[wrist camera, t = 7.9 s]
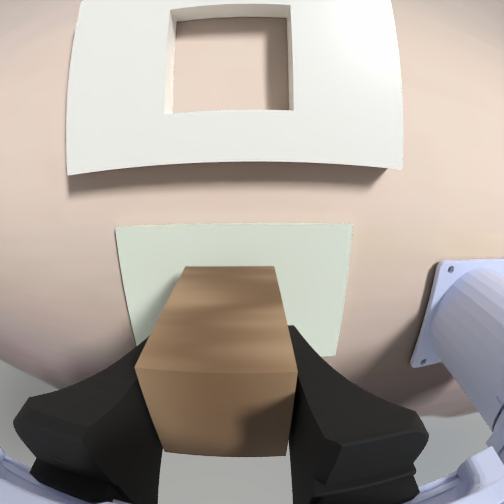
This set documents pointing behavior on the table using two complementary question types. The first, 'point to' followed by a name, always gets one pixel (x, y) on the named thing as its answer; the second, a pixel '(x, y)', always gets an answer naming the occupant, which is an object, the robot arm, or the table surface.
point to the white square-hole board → (234, 121)
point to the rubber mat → (242, 254)
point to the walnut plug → (221, 365)
